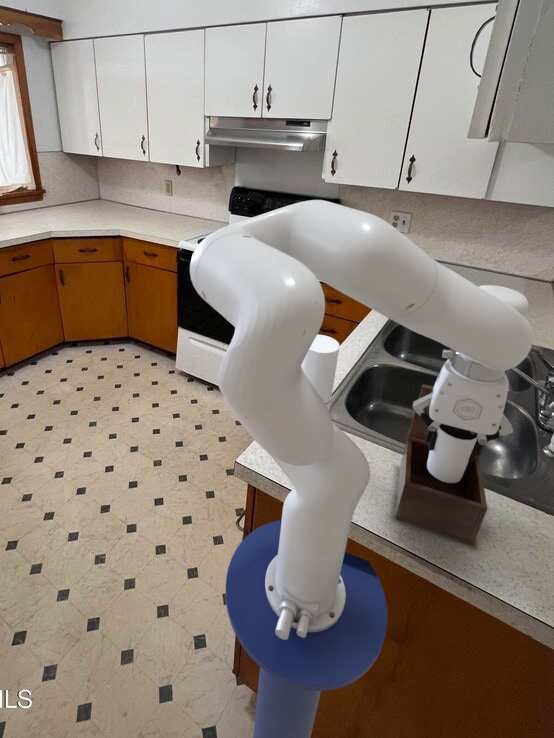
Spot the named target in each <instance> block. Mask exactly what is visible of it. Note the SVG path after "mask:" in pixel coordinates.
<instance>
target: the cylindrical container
mask: <svg viewBox="0 0 554 738" xmlns="http://www.w3.org/2000/svg"><path fill="white" fill-rule="evenodd" d="M339 352H340V343H339V342H338V341H337V340H336V339H335V338H333V337H331V336H328V335H324V334H317V336H316V338H315V340H314V341H313V343H312V345H311V347H310V348H309V350H308V352H307V354H306V356H305V358H304V360H303V363H302V365H301V367H302V369H303V371H304V373H305V375H306V376H307V378H308V379H309V381H310V382H311V384H312V385H313V387H314V389H315V390H316V391H317V393H318V394H319V395H320V397H321V398H322V399H323V401H324V403H325V404H326V406H327V408H328V410H329V411H330V409H331V403H332V396H333V389H334V384H335V379H336V371H337V364H338V358H339Z"/></svg>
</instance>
